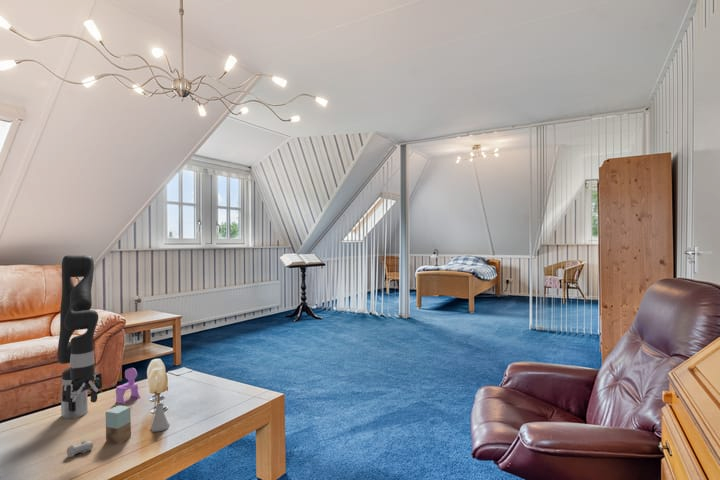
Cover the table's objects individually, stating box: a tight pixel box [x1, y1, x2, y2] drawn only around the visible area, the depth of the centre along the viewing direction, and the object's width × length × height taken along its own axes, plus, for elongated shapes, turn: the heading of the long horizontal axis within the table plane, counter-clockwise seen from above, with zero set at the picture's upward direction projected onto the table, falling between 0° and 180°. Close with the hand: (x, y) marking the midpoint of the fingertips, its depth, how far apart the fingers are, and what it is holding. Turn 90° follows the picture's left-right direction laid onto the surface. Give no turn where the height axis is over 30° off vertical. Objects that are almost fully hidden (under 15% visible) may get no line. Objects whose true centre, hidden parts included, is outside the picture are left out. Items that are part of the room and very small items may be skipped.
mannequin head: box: [66, 440, 94, 458], centre depth 151 cm, size 4×8×5 cm
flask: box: [150, 402, 170, 433], centre depth 169 cm, size 7×7×10 cm
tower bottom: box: [105, 422, 132, 445], centre depth 160 cm, size 6×6×6 cm
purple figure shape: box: [115, 367, 141, 405], centre depth 198 cm, size 8×9×15 cm
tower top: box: [105, 404, 132, 429], centre depth 160 cm, size 6×6×6 cm
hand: (83, 406), depth 151 cm, fingers open, 8 cm apart
